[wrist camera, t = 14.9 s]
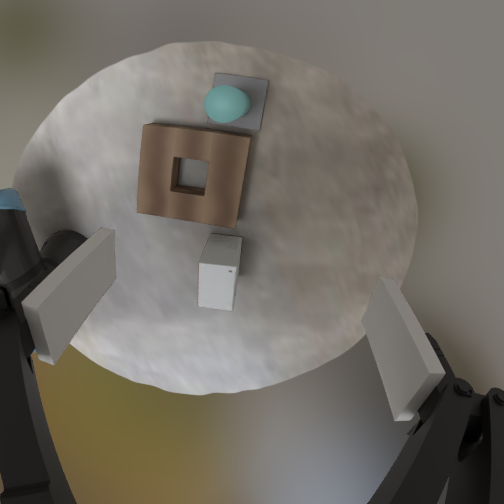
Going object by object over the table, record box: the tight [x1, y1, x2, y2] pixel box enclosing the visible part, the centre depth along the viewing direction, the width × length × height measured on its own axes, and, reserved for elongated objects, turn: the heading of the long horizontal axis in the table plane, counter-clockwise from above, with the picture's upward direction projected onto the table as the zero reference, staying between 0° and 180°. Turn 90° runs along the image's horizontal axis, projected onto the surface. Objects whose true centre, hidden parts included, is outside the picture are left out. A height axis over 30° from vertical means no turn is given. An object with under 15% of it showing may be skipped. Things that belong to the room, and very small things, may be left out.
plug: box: [204, 85, 251, 123], centre depth 38 cm, size 4×4×13 cm
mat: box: [207, 73, 268, 131], centre depth 44 cm, size 8×8×1 cm
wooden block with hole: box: [137, 123, 252, 229], centre depth 48 cm, size 16×14×4 cm
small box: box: [198, 234, 242, 311], centre depth 51 cm, size 8×6×10 cm
